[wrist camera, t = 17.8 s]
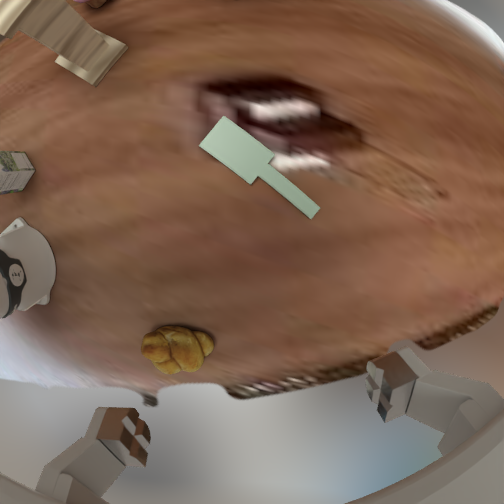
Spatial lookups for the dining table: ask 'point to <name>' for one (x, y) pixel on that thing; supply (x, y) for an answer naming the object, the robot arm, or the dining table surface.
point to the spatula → (252, 162)
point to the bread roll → (176, 349)
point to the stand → (62, 35)
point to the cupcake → (92, 2)
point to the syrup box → (14, 171)
